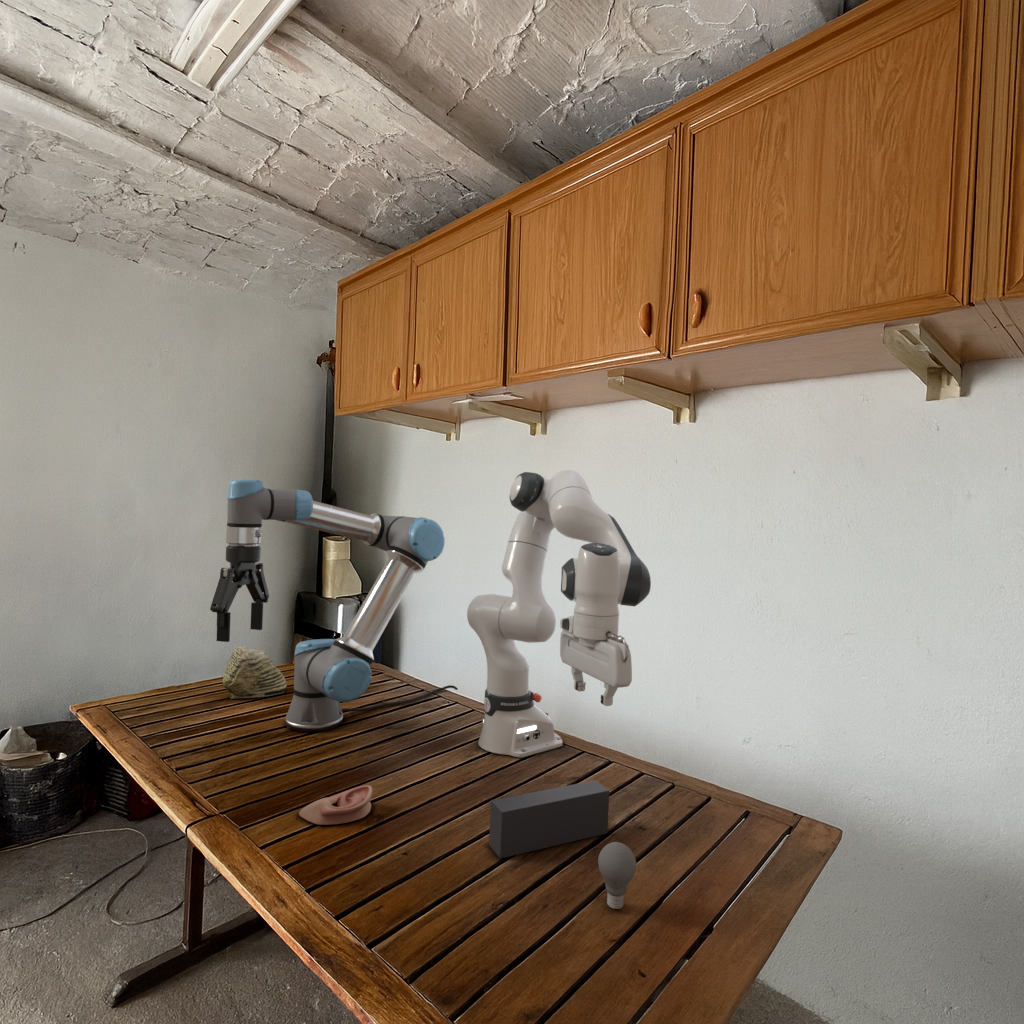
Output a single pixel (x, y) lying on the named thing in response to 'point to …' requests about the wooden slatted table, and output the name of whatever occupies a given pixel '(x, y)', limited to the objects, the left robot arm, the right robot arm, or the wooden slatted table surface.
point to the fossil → (252, 674)
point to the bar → (548, 818)
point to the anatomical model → (339, 807)
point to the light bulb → (616, 871)
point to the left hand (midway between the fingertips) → (240, 635)
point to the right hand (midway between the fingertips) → (592, 697)
